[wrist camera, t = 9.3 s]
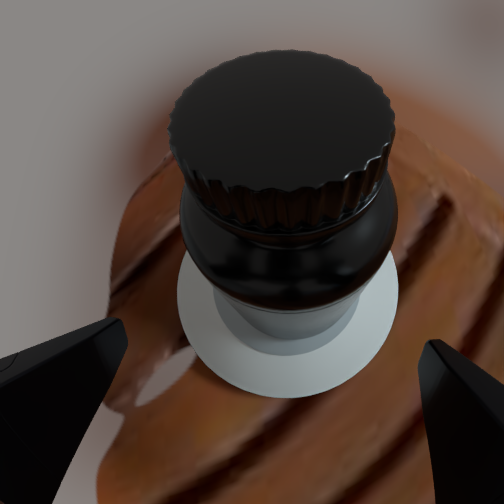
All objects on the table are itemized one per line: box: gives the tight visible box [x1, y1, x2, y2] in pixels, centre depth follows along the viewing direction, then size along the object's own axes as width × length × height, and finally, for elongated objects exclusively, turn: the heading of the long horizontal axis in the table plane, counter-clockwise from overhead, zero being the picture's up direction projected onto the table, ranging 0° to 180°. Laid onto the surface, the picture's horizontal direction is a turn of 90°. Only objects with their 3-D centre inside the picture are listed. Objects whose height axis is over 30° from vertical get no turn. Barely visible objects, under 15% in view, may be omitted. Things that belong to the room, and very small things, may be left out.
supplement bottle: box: [167, 50, 398, 340], centre depth 11 cm, size 7×7×12 cm
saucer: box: [177, 251, 398, 398], centre depth 17 cm, size 13×13×2 cm
